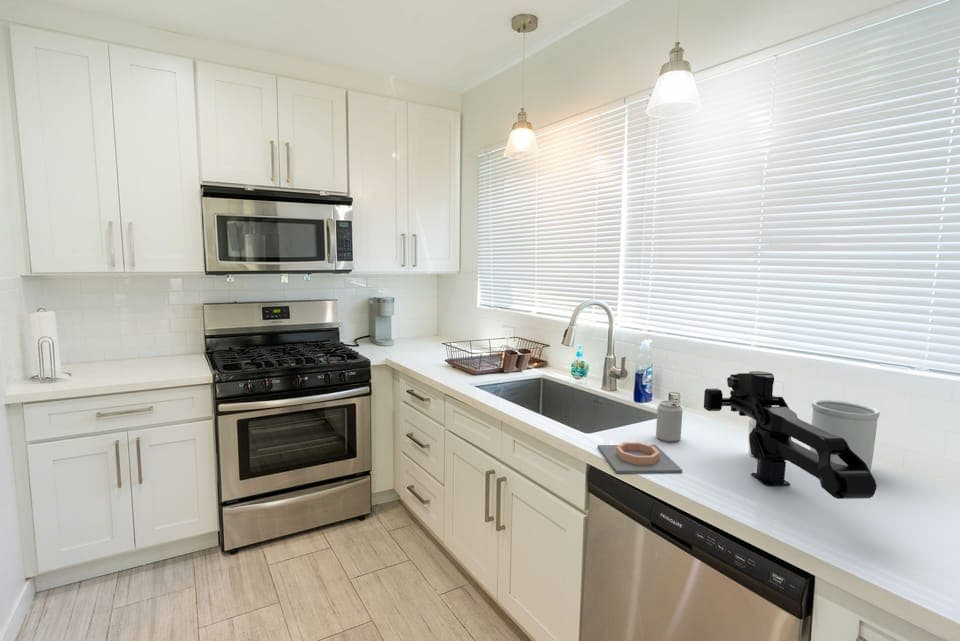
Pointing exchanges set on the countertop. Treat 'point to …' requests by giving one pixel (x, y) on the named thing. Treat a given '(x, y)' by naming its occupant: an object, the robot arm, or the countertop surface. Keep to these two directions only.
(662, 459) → the seat plate
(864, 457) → the utensil holder
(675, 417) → the can
